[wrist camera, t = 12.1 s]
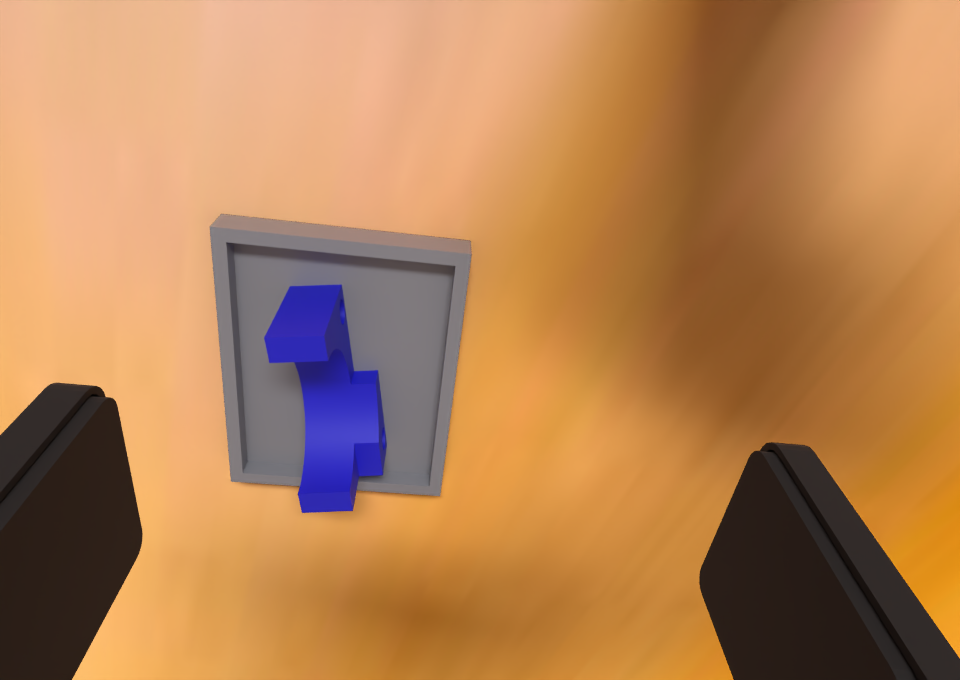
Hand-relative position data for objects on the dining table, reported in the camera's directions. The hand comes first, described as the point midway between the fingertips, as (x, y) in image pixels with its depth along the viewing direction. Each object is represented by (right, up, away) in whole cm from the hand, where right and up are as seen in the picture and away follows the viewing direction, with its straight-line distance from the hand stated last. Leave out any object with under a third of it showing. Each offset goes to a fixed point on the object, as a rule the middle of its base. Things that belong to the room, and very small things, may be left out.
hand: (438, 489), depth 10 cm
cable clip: (-8, 0, +31) cm, 32 cm away
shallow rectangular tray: (-8, +1, +32) cm, 33 cm away
